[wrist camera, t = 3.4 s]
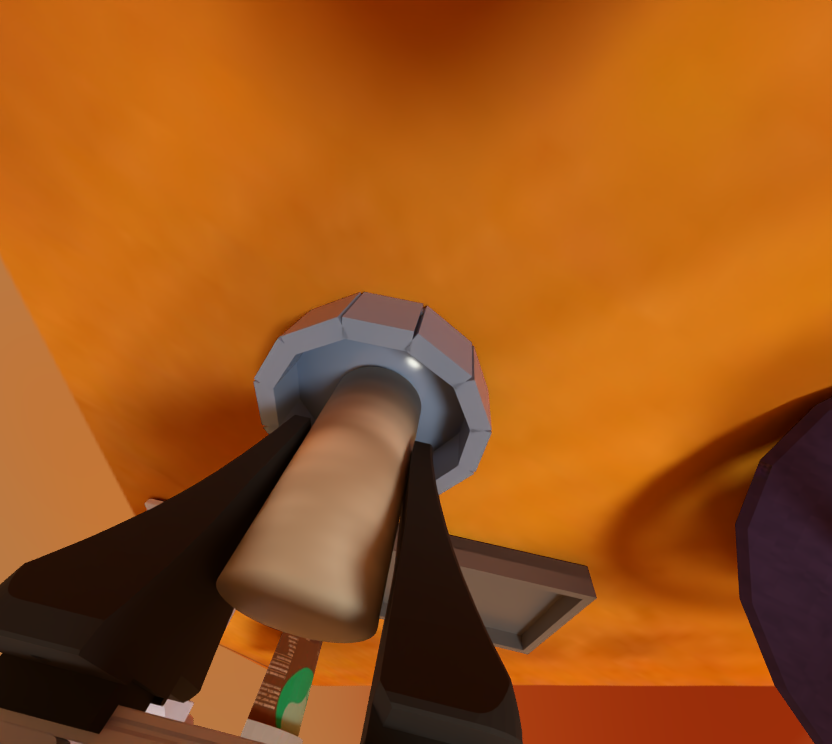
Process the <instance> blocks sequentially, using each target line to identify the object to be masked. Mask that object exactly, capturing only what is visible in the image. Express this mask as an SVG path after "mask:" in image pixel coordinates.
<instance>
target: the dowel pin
mask: <svg viewBox="0 0 832 744" xmlns="http://www.w3.org/2000/svg"><path fill="white" fill-rule="evenodd" d="M420 414H421V400H420V397H419V394H418V393H417V391H416V389H415V388H414V386H413V385H412V384H411V383H410V382H409V381H408V380H407V379H405V378H404V377H403V376H401V375H400V374H398V373H396V372H394V371H391V370H389V369H385V368H381V367H362V368H358V369H355V370H353V371H351V372H349V373H348V374H346V375H345V376H344V377H343V378H342V379H341V381H340V382H339V384H338V385H337V387H336V389H335V390H334V392H333V394H332V395H331V397H330V398H329V400H328V402H327V403H326V405H325V406H324V408H323V410H322V411H321V413H320V414H319V416H318V418H317V419H316V421H315V423H314V424H313V426H312V427H311V429H310V431H309V432H308V434H307V435H306V437H305V439H304V440H303V442H302V443H301V445H300V447H299V448H298V450H297V452H296V453H295V455H294V456H293V458H292V460H291V461H290V463H289V464H288V466H287V468H286V469H285V471H284V472H283V474H282V476H281V477H280V479H279V481H278V482H277V484H276V485H275V487H274V489H273V490H272V492H271V493H270V495H269V497H268V498H267V500H266V501H265V503H264V505H263V506H262V508H261V510H260V511H259V513H258V514H257V516H256V518H255V519H254V521H253V522H252V524H251V526H250V527H249V529H248V530H247V532H246V534H245V535H244V537H243V539H242V540H241V542H240V543H239V545H238V547H237V548H236V550H235V551H234V553H233V555H232V556H231V558H230V559H229V561H228V563H227V564H226V566H225V568H224V569H223V571H222V572H221V574H220V576H219V577H218V579H217V582H216V587H217V590H218V592H219V594H220V595H221V596H222V598H223V599H224V600H225V601H226V602H227V603H229V604H230V605H231V606H232V607H234V608H235V609H236V610H238V611H239V612H241V613H243V614H244V615H246V616H248V617H250V618H251V619H253V620H255V621H257V622H260V623H262V624H264V625H266V626H269V627H271V628H274V629H277V630H279V631H282V632H285V633H289V634H292V635H295V636H299V637H303V638H308V639H312V640H318V641H325V642H334V643H353V642H360V641H364V640H367V639H369V638H371V637H372V636H374V634H375V633H376V631H377V628H378V623H379V618H380V613H381V608H382V603H383V598H384V593H385V588H386V583H387V578H388V573H389V568H390V563H391V558H392V553H393V548H394V543H395V538H396V533H397V528H398V523H399V518H400V513H401V508H402V503H403V498H404V493H405V488H406V482H407V475H408V470H409V465H410V460H411V455H412V450H413V445H414V441H415V439H416V434H417V429H418V424H419V419H420Z"/></svg>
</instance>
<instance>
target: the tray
mask: <svg viewBox="0 0 832 744" xmlns="http://www.w3.org/2000/svg"><path fill="white" fill-rule="evenodd" d="M398 531H399V523H398V528H397V533H396V538H395V543H394V548H393V553H392V558H391V563H390V568H389V573H388V578H387V583H386V588H385V593H384V598H383V603H382V608H381V613H380V619H385V614H386V609H387V604H388V599H389V594H390V588H391V583H392V578H393V572H394V565H395V557H396V548H397V539H398ZM449 536H450V540H451V543H452V546H453V549H454V552H455V555H456V558H457V560H458V563H459V566H460V568H461V571H462V574H463V576H464V579H465V581H466V584H467V586H468V589H469V591H470V593H471V596H472V598H473V601H474V603H475V605H476V608H477V610H478V612H479V615H480V617H481V619H482V621H483V623H484V625H485V628H486V630H487V632H488V634H489V636H490V638H491V640H492V642H493V645H494V646H496V647H500V648H504V649H508V650H512V651H516V652H521V653H525V654H529V653H530V652H531V651H532V650H534V649H535V648H536V647H537V646H539V645H540V644H541V643H542V642H543V641H545V640H546V639H547V638H548V637H550V636H551V635H552V634H553V633H554V632H556V631H557V630H558V629H559V628H561V627H562V626H563V625H564V624H565V623H567V622H568V621H569V620H570V619H572V618H573V617H574V616H575V615H576V614H578V613H579V612H580V611H581V610H583V609H584V608H585V607H586V606H587V605H589V604H590V603H591V602H592V601H594V600H595V599H596V598H597V597H596V594H595V590H594V587H593V584H592V580H591V577H590V574H589V570H588V567H587V566H582V565H578V564H574V563H569V562H565V561H561V560H556V559H552V558H547V557H543V556H539V555H534V554H530V553H526V552H521V551H517V550H512V549H508V548H504V547H499V546H495V545H491V544H486V543H482V542H478V541H473V540H469V539H464V538H460V537H456V536H451V535H449Z"/></svg>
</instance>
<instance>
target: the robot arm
mask: <svg viewBox="0 0 832 744" xmlns="http://www.w3.org/2000/svg"><path fill="white" fill-rule="evenodd" d="M310 429H311V418H308V417H304V416H299V415H294V416H292V417H291V418H290V419H288V420H287V421H286V422H285V423H283V424H282V425H281V426H279V427H278V428H277V429H276V430H274V431H273V432H272V433H270V434H269V435H268V436H266V437H265V438H264V439H262V440H261V441H260V442H258V443H257V444H256V445H254V446H253V447H251V448H250V449H249V450H247V451H246V452H245V453H243V454H242V455H240V456H239V457H237V458H236V459H234V460H233V461H231V462H230V463H228V464H227V465H225V466H224V467H222V468H221V469H219V470H218V471H216V472H215V473H213V474H212V475H210V476H208V477H207V478H205V479H204V480H202V481H200V482H199V483H197V484H195V485H193V486H192V487H190V488H188V489H187V490H185V491H183V492H181V493H179V494H178V495H176V496H174V497H172V498H170V499H168V500H166V501H165V502H164V501H159V500H155V499H148V500H147V501H146V502H145V507H146V508H147V511H145V512H143V513H141V514H139V515H137V516H135V517H133V518H131V519H129V520H127V521H124V522H122V523H120V524H118V525H116V526H114V527H111V528H109V529H107V530H105V531H103V532H100V533H98V534H96V535H94V536H92V537H89V538H87V539H84V540H82V541H80V542H77V543H75V544H72V545H70V546H67V547H65V548H62V549H60V550H57V551H55V552H52V553H50V554H47V555H45V556H42V557H40V558H38V559H35V560H32V561H30V562H27V563H25V564H23V565H22V566H21V567H20V568H19V569H17V570H16V571H15V572H14V573H13V574H12V575H11V576H9V577H8V578H7V579H6V580H5V581H4V582H3V583H1V584H0V652H1V653H2V655H1V656H0V744H266V743H262V742H258V741H254V740H251V739H247V738H243V737H239V736H235V735H231V734H227V733H224V732H220V731H216V730H212V729H208V728H205V727H201V726H196V725H193V717H192V716H191V715H189V712H190V710H191V708H192V706H193V704H194V702H193V701H190V699H191V698H192V697H194V696H195V695H196V694H197V693H199V691H200V690H201V687H202V685H203V682H204V680H205V677H206V675H207V672H208V670H209V667H210V665H211V662H212V660H213V657H214V655H215V652H216V650H217V648H218V645H219V643H220V640H221V638H222V636H223V633H224V631H225V629H226V627H227V625H228V623H229V621H230V619H231V618H232V616H233V614H234V612H235V610H236V609H235V608H234V607H232V606H231V605H230V604H229V603H227V602H226V601H225V600H224V599H223V598H222V596H221V595H220V594H219V592H218V590H217V587H216V582H217V579H218V577H219V576H220V574H221V572H222V571H223V569H224V568H225V566H226V564H227V563H228V561H229V559H230V558H231V556H232V555H233V553H234V551H235V550H236V548H237V547H238V545H239V543H240V542H241V540H242V539H243V537H244V535H245V534H246V532H247V530H248V529H249V527H250V526H251V524H252V522H253V521H254V519H255V518H256V516H257V514H258V513H259V511H260V510H261V508H262V506H263V505H264V503H265V501H266V500H267V498H268V497H269V495H270V493H271V492H272V490H273V489H274V487H275V485H276V484H277V482H278V481H279V479H280V477H281V476H282V474H283V472H284V471H285V469H286V468H287V466H288V464H289V463H290V461H291V460H292V458H293V456H294V455H295V453H296V452H297V450H298V448H299V447H300V445H301V443H302V442H303V440H304V439H305V437H306V435H307V434H308V432H309V431H310ZM360 744H523V742H522V729H521V723H520V717H519V711H518V707H517V702H516V698H515V694H514V690H513V686H512V682H511V679H510V677H509V675H508V672H507V671H506V669H505V667H504V665H503V663H502V661H501V659H500V657H499V655H498V653H497V651H496V649H495V647H494V645H493V642H492V640H491V638H490V636H489V634H488V632H487V630H486V628H485V625H484V623H483V621H482V619H481V617H480V615H479V612H478V610H477V608H476V605H475V603H474V601H473V598H472V596H471V593H470V591H469V589H468V586H467V584H466V581H465V579H464V576H463V574H462V571H461V568H460V566H459V563H458V560H457V558H456V555H455V552H454V549H453V546H452V543H451V540H450V536H449V533H448V530H447V526H446V523H445V519H444V515H443V512H442V508H441V504H440V499H439V494H438V490H437V485H436V479H435V472H434V465H433V447H432V445H431V444H428V443H423V442H419V441H414V445H413V450H412V455H411V460H410V465H409V470H408V475H407V482H406V488H405V493H404V498H403V503H402V508H401V513H400V522H399V531H398V539H397V548H396V557H395V565H394V572H393V578H392V583H391V588H390V594H389V599H388V604H387V609H386V614H385V619H384V625H383V630H382V635H381V640H380V645H379V650H378V655H377V660H376V666H375V671H374V676H373V681H372V686H371V691H370V696H369V701H368V706H367V712H366V717H365V722H364V727H363V732H362V737H361V742H360Z"/></svg>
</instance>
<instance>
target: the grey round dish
mask: <svg viewBox="0 0 832 744" xmlns="http://www.w3.org/2000/svg"><path fill="white" fill-rule="evenodd" d="M362 367H381V368H385V369H389V370H391V371H394V372H396V373H398V374H400V375H401V376H403V377H404V378H405V379H407V380H408V381H409V382H410V383H411V384H412V385H413V386H414V388H415V389H416V391H417V393H418V394H419V397H420V400H421V414H420V419H419V424H418V429H417V434H416V439H415V441H419V442H423V443H428V444H431V445H432V447H433V465H434V472H435V479H436V485H437V490H438V494H439V495H440V494H441V493H443V492H445V491H446V490H448V489H450V488H451V487H453V486H454V485H456V484H458V483H459V482H461V481H463V480H464V479H466V478H468V477H469V476H471V475H473V474H474V472H476V469H477V467H478V464H479V462H480V459H481V457H482V455H483V452H484V450H485V447H486V445H487V442H488V440H489V438H490V435H491V430H492V428H491V417H490V406H489V394H488V389H487V385H486V382H485V379H484V376H483V373H482V370H481V367H480V364H479V361H478V357H477V354H476V351H475V348H474V346H472V343H471V342H470V341H469V340H468V339H467V338H465V337H464V336H463V335H462V334H461V333H459V332H458V331H457V330H456V329H455V328H453V327H452V326H451V325H450V324H449V323H447V322H446V321H445V320H444V319H443V318H441V317H440V316H439V315H438V314H437V313H435V312H434V311H433V310H432V309H431V308H430V307H428V306H427V307H426V308H423V304H422V303H417V302H412V301H407V300H402V299H397V298H392V297H387V296H382V295H377V294H372V293H367V292H364V293H363V294H362V295H361V293H360V292H359V293H357V294H354V295H351V296H348V297H346V298H343V299H340V300H337V301H334V302H332V303H329V304H326V305H323V306H321V307H318V308H315V309H312V310H310V311H309V312H308V313H307V314H306V315H304V316H303V317H302V318H301V319H300V320H299V321H297V322H296V323H295V324H294V325H293V326H292V327H291V328H289V329H288V330H287V331H286V332H285V333H284V334H282V335H281V336H280V337H279V338H278V339H277V340H276V342H275V344H274V346H273V347H272V349H271V351H270V352H269V354H268V356H267V357H266V359H265V361H264V363H263V364H262V366H261V368H260V369H259V371H258V373H257V375H256V376H255V378H254V379H255V381H254V386H255V392H256V397H257V402H258V407H259V412H260V418H261V423H262V425H265V426H264V427H263V428H264V429H265V430H266V431H267V433H268V434H270V433H272V432H273V431H274V430H276V429H277V428H278V427H279V426H281V425H282V424H283V423H285V422H286V421H287V420H288V419H290V418H291V417H292V416H294V415H299V416H304V417H308V418H311V427H312V426H313V424H314V423H315V421H316V419H317V418H318V416H319V414H320V413H321V411H322V410H323V408H324V406H325V405H326V403H327V402H328V400H329V398H330V397H331V395H332V394H333V392H334V390H335V389H336V387H337V385H338V384H339V382H340V381H341V379H342V378H343V377H344V376H345V375H346V374H348V373H349V372H351V371H353V370H355V369H358V368H362ZM473 471H474V472H473Z"/></svg>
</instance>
